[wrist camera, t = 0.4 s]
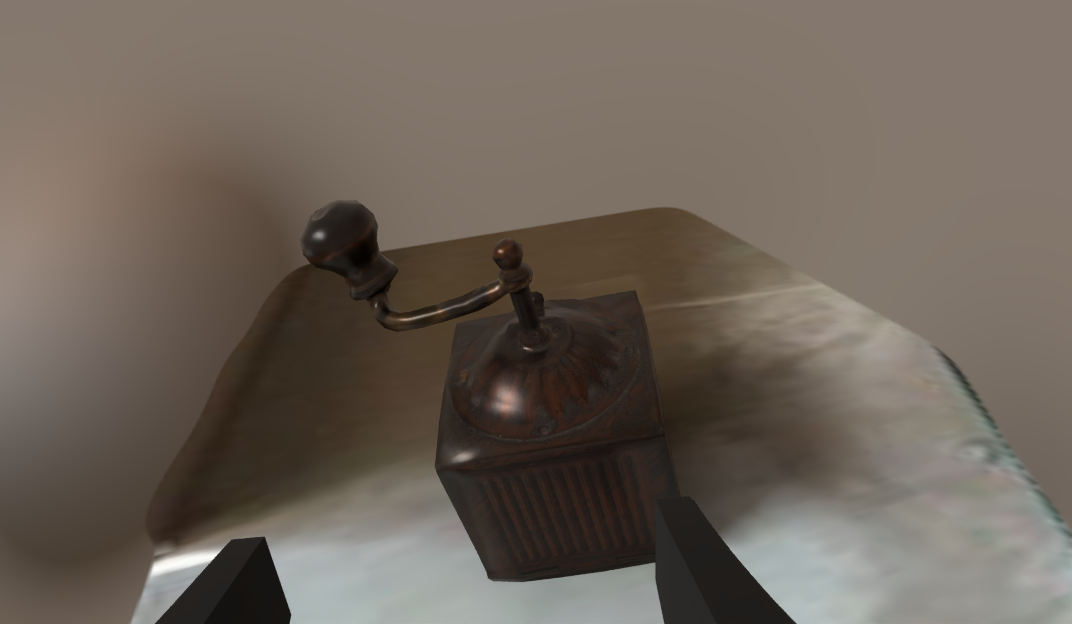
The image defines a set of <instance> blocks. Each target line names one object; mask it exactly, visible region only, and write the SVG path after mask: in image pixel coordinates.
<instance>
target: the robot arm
mask: <svg viewBox="0 0 1072 624" xmlns="http://www.w3.org/2000/svg"><path fill="white" fill-rule="evenodd" d="M655 518H656V585H657V590H658V594H659V599H660V604H661V609H662V614H663V619H664V623H665V624H796V623H795V622H794V621H793V620H792V619H791V618H790V617H789V616H788V614H787V613H786V612H785V611H784V610H783V609H782V608H781V607H780V606H779V605H778V604H777V603H776V602H775V601H774V600H773V599H772V598H771V596H770V595H769V594H768V593H767V592H766V591H765V590H764V589H763V588H762V586H761V585H760V584H759V583H758V582H757V581H756V580H755V578H754V577H753V576H752V575H751V574H750V573H749V571H748V570H747V569H746V568H745V567H744V566H743V565H742V563H741V562H740V561H739V560H738V559H737V557H736V556H735V555H734V554H733V552H732V551H731V550H730V549H729V547H728V546H727V545H726V544H725V542H724V541H723V540H722V539H721V537H720V536H719V535H718V533H717V532H716V531H715V529H714V528H713V527H712V525H711V524H710V523H709V521H708V520H707V519H706V517H705V516H704V514H703V513H702V512H701V510H700V509H699V507H698V506H697V504H696V503H695V501H694V500H692V499H691V498H690V497H678V498H667V499H657V500H655ZM290 618H291V613H290V610H289V607H288V604H287V601H286V598H285V595H284V592H283V589H282V586H281V583H280V580H279V577H278V574H277V571H276V568H275V566H274V563H273V560H272V557H271V554H270V551H269V548H268V545H267V542H266V539H265V537H254V538H244V539H233V540H231V541H230V542H229V543H228V544H227V545H226V546H225V547H224V548H223V549H222V550H221V552H220V553H219V554H218V555H217V556H216V557H215V558H214V559H213V560H212V561H211V563H210V564H209V565H208V566H207V567H206V568H205V569H204V570H203V571H202V573H201V574H200V575H199V576H198V577H197V578H196V579H195V580H194V581H193V583H192V584H191V585H190V586H189V587H188V588H187V589H186V590H185V591H184V593H183V594H182V595H181V596H180V597H179V598H178V599H177V600H176V601H175V603H174V604H173V605H172V606H171V607H170V608H169V609H168V610H167V611H166V612H165V613H164V614H163V616H162V617H161V618H160V619H159V620H158V621H157V622H156V623H155V624H290Z"/></svg>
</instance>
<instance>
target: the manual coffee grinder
mask: <svg viewBox="0 0 1072 624" xmlns="http://www.w3.org/2000/svg"><path fill="white" fill-rule="evenodd" d="M377 229H378V225H377V222H376V220H375V217H374V215H373V213H371V211H369V210H368V209H367V208H366V207H365V206H363V205H362V204H361V203H359V202H358V201H335V202H331V203H329V204H327V205H326V206H324V207H322V208H320V209H319V210H317V211H316V212H315V213H314V214H313V215H312V216H311V217H310V218H309V220H308V222H307V224H306V226H305V227H304V229H303V231H302V234H301V239H300V241H301V246H302V251H303V255H304V257H305V258H306V259H307V260H308V261H309V263H310V264H311V265H313V266H315V267H317V268H321V269H325V270H329V271H332V272H335V273H337V274H339V275H341V276H343V277H344V279H345V281H346V283H347V285H348V288H349V295H350V297H351V298H352V299H354V300H362V299H366V300H367V301H368V302H369V305H370V309H371V312H372V315H373V316H374V317H375V319H376V320H377V321H378V322H379V323H380V324H381V325H382V326H383V327H384V328H386V329H389V330H393V331H396V332H398V331H405V330H411V329H418V328H423V327H426V326H430V325H433V324H437V323H441V322H444V321H448V320H451V319H454V318H457V317H461V316H464V315H467V314H470V313H473V312H476V311H478V310H481V309H483V308H485V307H487V306H489V305H491V304H492V303H494V302H496V301H497V300H498V299H500V298H501V297H503V296H504V295H506V294H507V293H510V296H511V299H512V302H513V305H514V308H515V310H513V311H512V312H510V313H508V314H502V315H497V316H492V317H487V318H481V319H476V320H471V321H466V322H461V323H457V325H456V329H455V334H454V338H453V342H452V350H451V356H450V361H449V366H448V371H447V376H446V381H445V386H444V393H443V400H442V407H441V414H440V420H439V431H438V441H437V451H436V461H435V469H436V472H437V474H438V476H439V478H440V481H441V483H442V485H443V486H444V488H445V490H446V492H447V494H448V496H449V498H450V500H451V502H452V504H453V506H454V508H455V510H456V512H457V514H458V516H459V518H460V520H461V521H462V523H463V525H464V527H465V529H466V531H467V533H468V535H469V537H470V539H471V541H472V543H473V545H474V547H475V549H476V551H477V553H478V555H479V557H480V559H481V561H482V563H483V566H484V568H485V570H486V572H487V576H488V579H490V580H492V581H508V582H526V581H535V580H543V579H551V578H559V577H566V576H573V575H581V574H588V573H595V572H602V571H609V570H614V569H620V568H625V567H631V566H636V565H642V564H647V563H653V562H656V518H655V500H657V499H667V498H678V497H681V495H680V491H679V488H678V484H677V479H676V474H675V469H674V464H673V459H672V454H671V449H670V444H669V440H668V435H667V431H666V426H665V421H664V417H663V411H662V402H661V396H660V391H659V386H658V381H657V376H656V371H655V365H654V360H653V355H652V350H651V345H650V340H649V335H648V330H647V325H646V321H645V317H644V313H643V310H642V306H641V304H640V302H639V300H638V298H637V294H636V290H634V291H628V292H622V293H616V294H610V295H605V296H599V297H593V298H587V299H582V300H577V299H568V300H547V301H544V299H543V295H542V294H541V293H539V292H531V291H530V288H529V285H528V284H529V283H530V282H531V281H532V275H533V272H532V270H531V268H530V267H529V266H528V265H527V264H526V263H524V262H522V257H523V250H522V245H520V244H519V243H517V242H516V241H514V240H513V239H510V238H506V239H502V240H501V241H499V242H497V243H496V245H495V248H494V252H493V257H492V259H493V260H494V261H495V262H496V264H497V265H498V266H499V267H500V268H501V270H500V271H499V273H498V277H499V278H497V279H496V280H494V281H492V282H490V283H488V284H486V285H484V286H482V287H480V288H477V289H475V290H473V291H471V292H469V293H468V294H466V295H464V296H461V297H458V298H455V299H452V300H449V301H446V302H443V303H440V304H436V305H433V306H429V307H426V308H422V309H418V310H415V311H411V312H405V313H403V312H400V311H397V310H394V309H393V308H392V306H391V305H390V304H389V301H388V298H387V295H386V294H387V292H388V291H389V288H390V286H391V285H390V283H391V281H392V280H393V278H394V277H395V275H396V274H397V272H398V269H397V267H396V266H395V264H394V262H393V261H392V260H389V259H387V258H386V257H384V256H383V255H382V254H381V253H380V252H379V248H378V243H377Z"/></svg>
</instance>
